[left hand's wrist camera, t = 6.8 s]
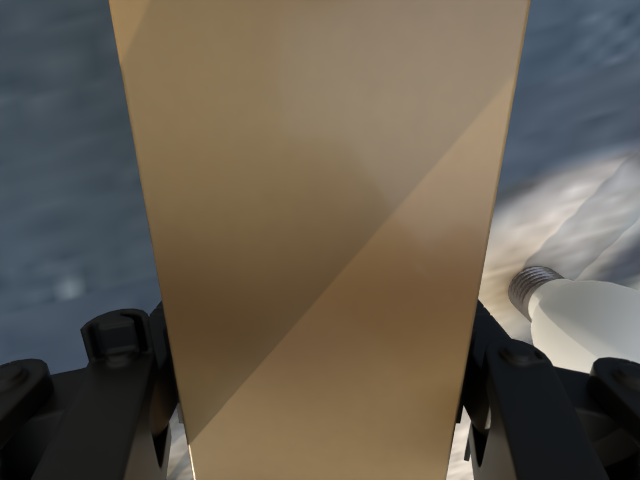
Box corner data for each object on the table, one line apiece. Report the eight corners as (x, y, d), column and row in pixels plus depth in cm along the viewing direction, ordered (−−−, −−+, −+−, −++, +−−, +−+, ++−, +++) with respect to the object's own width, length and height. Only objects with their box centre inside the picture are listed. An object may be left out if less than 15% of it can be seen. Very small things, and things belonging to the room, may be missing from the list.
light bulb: (474, 309, 27) (571, 435, 16) (524, 231, 24) (673, 320, 14) (548, 338, 27) (686, 475, 17) (603, 265, 25) (798, 372, 15)
